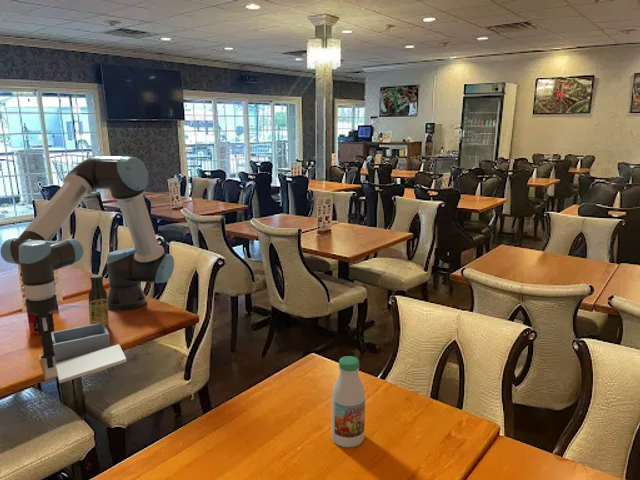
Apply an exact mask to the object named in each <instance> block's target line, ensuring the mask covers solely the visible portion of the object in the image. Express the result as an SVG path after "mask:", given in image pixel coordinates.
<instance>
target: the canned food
mask: <svg viewBox="0 0 640 480" xmlns="http://www.w3.org/2000/svg"><path fill="white" fill-rule="evenodd" d="M48 313H51V316H52V329H53V330H52V332H54V330H55V323H54V314H53V310H52V311H49V312H48ZM37 315H38V314H32V313H29V312H27V311H26V316H27V321H28V322H27V323H28V330H29V332H30V335H32V336H41V334H39V332H38V325H37V324H36V318H35V316H37Z"/></svg>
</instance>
